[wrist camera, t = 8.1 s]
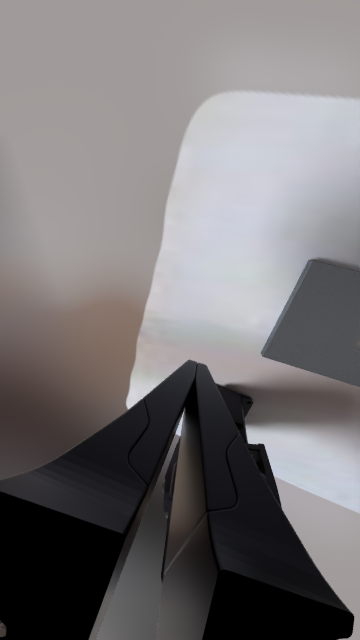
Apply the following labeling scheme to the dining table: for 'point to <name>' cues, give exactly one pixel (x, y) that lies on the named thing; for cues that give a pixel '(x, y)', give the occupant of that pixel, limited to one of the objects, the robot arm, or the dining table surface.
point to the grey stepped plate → (321, 324)
